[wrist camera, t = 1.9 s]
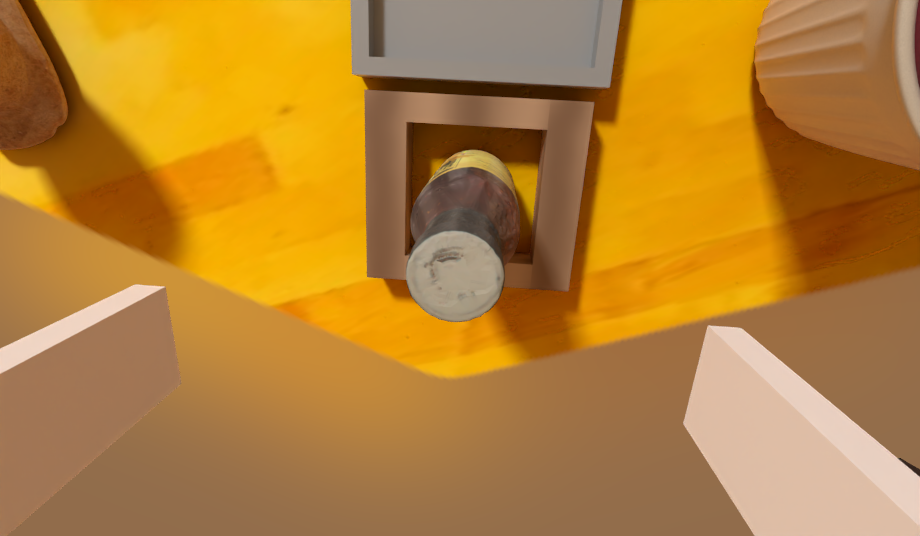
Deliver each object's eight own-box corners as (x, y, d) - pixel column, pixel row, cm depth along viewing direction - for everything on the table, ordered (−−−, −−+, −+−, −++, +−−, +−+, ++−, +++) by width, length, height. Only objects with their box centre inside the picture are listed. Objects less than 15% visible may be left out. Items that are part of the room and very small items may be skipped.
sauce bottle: (447, 137, 36) (400, 161, 17) (523, 162, 36) (561, 211, 17) (425, 216, 38) (361, 316, 19) (497, 238, 38) (505, 359, 19)
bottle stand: (585, 103, 34) (594, 101, 31) (562, 278, 39) (568, 291, 36) (374, 91, 35) (364, 89, 32) (375, 265, 39) (367, 277, 36)
